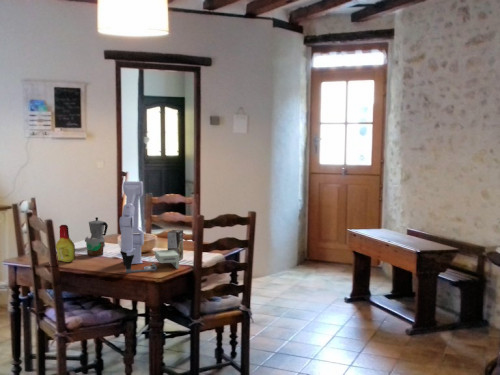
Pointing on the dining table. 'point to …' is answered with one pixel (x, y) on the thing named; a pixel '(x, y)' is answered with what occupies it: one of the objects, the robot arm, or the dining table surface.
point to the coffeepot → (97, 228)
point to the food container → (94, 246)
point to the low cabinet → (168, 257)
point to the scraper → (142, 270)
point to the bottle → (65, 246)
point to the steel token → (148, 267)
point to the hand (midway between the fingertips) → (127, 266)
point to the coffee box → (176, 242)
